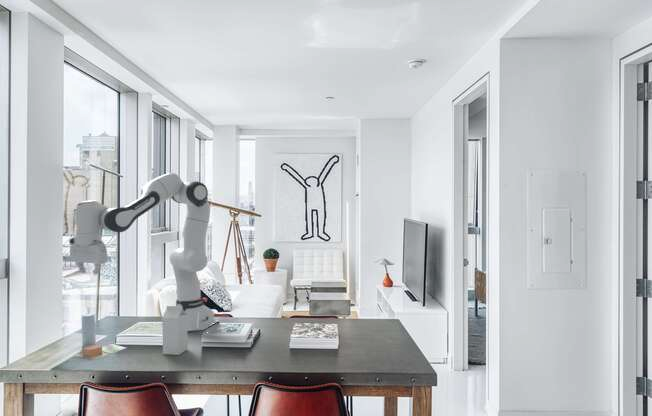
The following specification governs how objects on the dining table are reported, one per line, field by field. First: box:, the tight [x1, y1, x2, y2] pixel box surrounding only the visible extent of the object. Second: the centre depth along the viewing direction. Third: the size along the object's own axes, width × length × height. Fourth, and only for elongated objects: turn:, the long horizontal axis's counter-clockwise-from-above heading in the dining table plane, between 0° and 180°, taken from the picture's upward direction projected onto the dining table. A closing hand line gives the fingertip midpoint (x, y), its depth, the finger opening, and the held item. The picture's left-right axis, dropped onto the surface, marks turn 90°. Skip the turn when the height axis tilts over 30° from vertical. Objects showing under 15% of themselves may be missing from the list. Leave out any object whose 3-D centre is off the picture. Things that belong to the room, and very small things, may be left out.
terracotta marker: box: [82, 344, 103, 357], centre depth 180 cm, size 5×5×3 cm
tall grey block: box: [81, 313, 97, 349], centre depth 191 cm, size 5×5×14 cm
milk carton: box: [161, 305, 188, 356], centre depth 185 cm, size 7×7×19 cm
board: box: [74, 343, 127, 361], centre depth 184 cm, size 16×11×1 cm
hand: (89, 273), depth 185 cm, fingers open, 8 cm apart
